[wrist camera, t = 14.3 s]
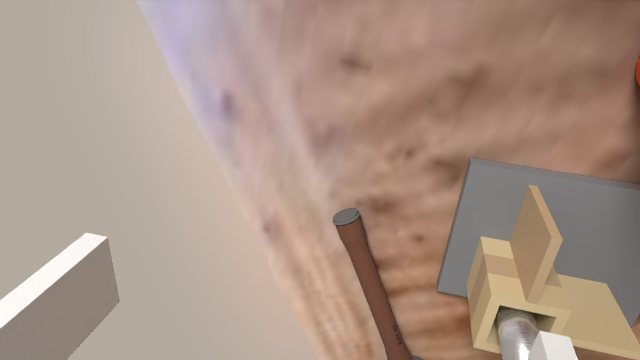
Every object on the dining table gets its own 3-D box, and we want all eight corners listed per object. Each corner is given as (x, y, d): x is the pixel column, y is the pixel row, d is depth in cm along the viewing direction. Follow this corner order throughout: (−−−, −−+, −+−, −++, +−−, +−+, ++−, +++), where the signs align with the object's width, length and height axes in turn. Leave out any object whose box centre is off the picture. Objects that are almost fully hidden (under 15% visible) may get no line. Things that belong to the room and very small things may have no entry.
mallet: (372, 217, 44) (448, 430, 52) (370, 195, 49) (439, 391, 58) (316, 234, 45) (400, 440, 54) (321, 211, 51) (396, 400, 59)
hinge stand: (469, 157, 42) (480, 211, 33) (695, 193, 39) (775, 263, 30) (436, 282, 50) (438, 354, 41) (624, 320, 47) (671, 408, 38)
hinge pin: (491, 251, 45) (513, 368, 32) (523, 257, 44) (560, 379, 31) (483, 275, 46) (502, 396, 33) (514, 281, 46) (545, 407, 33)
